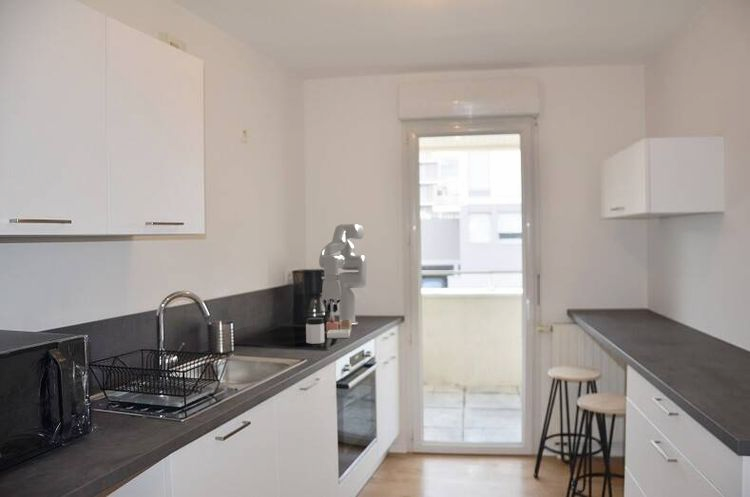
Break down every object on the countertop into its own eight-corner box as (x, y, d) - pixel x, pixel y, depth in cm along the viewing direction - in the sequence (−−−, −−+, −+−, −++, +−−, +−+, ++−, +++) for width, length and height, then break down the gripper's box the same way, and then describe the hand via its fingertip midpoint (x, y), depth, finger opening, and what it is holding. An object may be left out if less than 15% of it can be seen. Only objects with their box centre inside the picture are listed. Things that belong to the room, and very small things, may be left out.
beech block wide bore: (340, 330, 336) (340, 320, 336) (351, 330, 336) (351, 319, 336) (339, 332, 330) (339, 321, 330) (350, 332, 330) (350, 321, 330)
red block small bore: (327, 332, 330) (327, 321, 329) (338, 332, 329) (338, 321, 329) (326, 334, 324) (326, 323, 323) (337, 334, 323) (337, 323, 323)
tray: (329, 335, 321) (329, 329, 321) (350, 334, 320) (350, 329, 320) (327, 338, 309) (326, 332, 309) (348, 337, 309) (348, 332, 309)
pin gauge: (330, 321, 328) (329, 299, 328) (335, 321, 328) (334, 299, 328) (329, 322, 325) (329, 300, 325) (334, 322, 325) (334, 300, 325)
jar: (312, 340, 303) (311, 317, 303) (326, 341, 300) (326, 317, 300) (303, 343, 294) (303, 319, 294) (318, 344, 292) (318, 319, 291)
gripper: (346, 277, 330) (347, 310, 330) (317, 278, 330) (318, 311, 331) (345, 278, 322) (346, 312, 323) (315, 278, 323) (316, 312, 323)
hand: (332, 311), depth 327 cm, fingers closed on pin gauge, 2 cm apart
